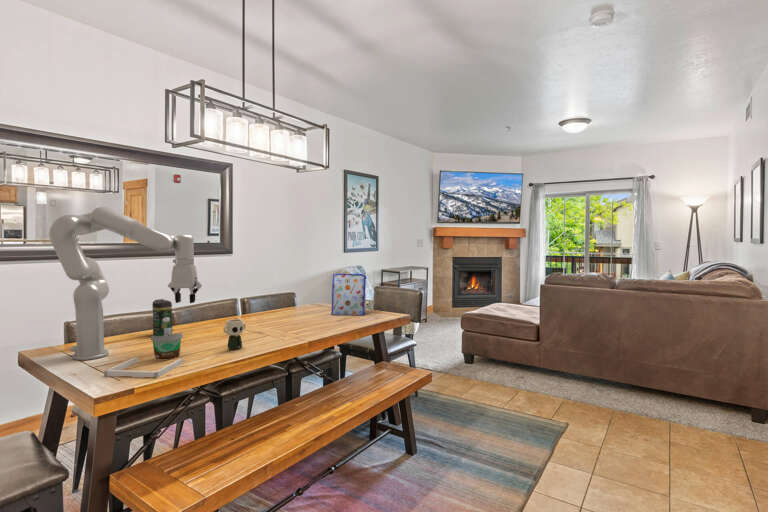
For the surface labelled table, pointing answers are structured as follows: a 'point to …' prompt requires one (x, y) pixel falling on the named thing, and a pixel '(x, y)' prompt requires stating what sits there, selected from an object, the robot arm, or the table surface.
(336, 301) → the lunch bag
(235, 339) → the cream and green figurine
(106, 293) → the robot arm
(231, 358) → the table surface
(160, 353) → the food container
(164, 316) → the coffee jar
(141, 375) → the grey u-shaped frame
